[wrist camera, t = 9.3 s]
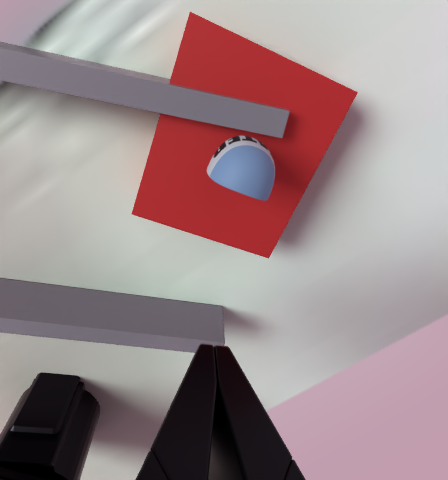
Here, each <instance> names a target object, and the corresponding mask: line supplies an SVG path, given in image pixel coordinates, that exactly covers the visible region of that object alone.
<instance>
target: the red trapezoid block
mask: <svg viewBox="0 0 448 480" xmlns="http://www.w3.org/2000/svg"><path fill="white" fill-rule="evenodd" d="M170 84H175V85H179V86H184V87H189V88H193V89H198V90H202V91H207V92H211V93H216V94H221V95H225V96H230V97H234V98H239V99H243V100H248V101H253V102H257V103H262V104H266V105H271V106H275V107H280V108H285V109H287V110H289V111H290V112H289V116H288V119H287V123H286V127H285V130H284V134H283V137H282V138H279V137H274V136H269V135H264V134H259V133H254V132H249V131H245V130H240V129H235V128H230V127H225V126H220V125H215V124H211V123H206V122H201V121H196V120H191V119H186V118H181V117H176V116H172V115H167V114H162V113H161V114H160V118H159V121H158V125H157V128H156V131H155V135H154V138H153V142H152V145H151V149H150V152H149V156H148V159H147V163H146V166H145V170H144V173H143V177H142V180H141V183H140V187H139V190H138V194H137V197H136V201H135V204H134V208H133V211H132V214H133V215H136V216H139V217H142V218H145V219H148V220H151V221H154V222H157V223H161V224H164V225H167V226H170V227H173V228H176V229H179V230H182V231H185V232H189V233H192V234H195V235H198V236H201V237H204V238H207V239H210V240H213V241H216V242H220V243H223V244H226V245H229V246H232V247H235V248H238V249H241V250H244V251H248V252H251V253H254V254H257V255H260V256H263V257H266V258H269V257H270V255H271V253H272V251H273V249H274V247H275V246H276V244H277V242H278V240H279V238H280V236H281V234H282V233H283V231H284V229H285V227H286V225H287V223H288V221H289V220H290V218H291V216H292V214H293V212H294V210H295V208H296V207H297V205H298V203H299V201H300V199H301V197H302V195H303V193H304V192H305V190H306V188H307V186H308V184H309V182H310V180H311V179H312V177H313V175H314V173H315V171H316V169H317V167H318V166H319V164H320V162H321V160H322V158H323V156H324V154H325V153H326V151H327V149H328V147H329V145H330V143H331V141H332V139H333V138H334V136H335V134H336V132H337V130H338V128H339V126H340V125H341V123H342V121H343V119H344V117H345V115H346V113H347V112H348V110H349V108H350V106H351V104H352V102H353V100H354V99H355V97H356V95H357V93H358V92H356V91H354V90H352V89H349V88H347V87H345V86H343V85H341V84H339V83H337V82H335V81H333V80H331V79H329V78H327V77H325V76H322V75H320V74H318V73H316V72H314V71H312V70H310V69H308V68H306V67H304V66H302V65H300V64H298V63H295V62H293V61H291V60H289V59H287V58H285V57H283V56H281V55H279V54H277V53H275V52H273V51H271V50H268V49H266V48H264V47H262V46H260V45H258V44H256V43H254V42H252V41H250V40H248V39H246V38H244V37H241V36H239V35H237V34H235V33H233V32H231V31H229V30H227V29H225V28H223V27H221V26H219V25H216V24H214V23H212V22H210V21H208V20H206V19H204V18H202V17H200V16H198V15H196V14H194V13H192V12H190V14H189V17H188V21H187V24H186V27H185V31H184V34H183V38H182V41H181V45H180V48H179V52H178V55H177V59H176V62H175V66H174V69H173V73H172V76H171V79H170Z"/></svg>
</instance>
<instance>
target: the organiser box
mask: <svg viewBox="0 0 448 480" xmlns="http://www.w3.org/2000/svg"><path fill="white" fill-rule="evenodd" d="M0 80H1V81H6V82H11V83H16V84H21V85H26V86H30V87H35V88H40V89H45V90H50V91H55V92H60V93H64V94H69V95H74V96H79V97H84V98H89V99H94V100H99V101H103V102H108V103H113V104H118V105H123V106H128V107H133V108H138V109H142V110H147V111H152V112H157V113H162V114H167V115H172V116H176V117H181V118H186V119H191V120H196V121H201V122H206V123H211V124H215V125H220V126H225V127H230V128H235V129H240V130H245V131H249V132H254V133H259V134H264V135H269V136H274V137H279V138H282V137H283V134H284V130H285V127H286V123H287V119H288V116H289V112H290V111H289V110H287V109H285V108H280V107H275V106H271V105H266V104H262V103H257V102H253V101H248V100H243V99H239V98H234V97H230V96H225V95H221V94H216V93H211V92H207V91H202V90H198V89H193V88H189V87H184V86H179V85H175V84H170V79H167V78H162V77H157V76H153V75H148V74H144V73H139V72H135V71H130V70H126V69H121V68H117V67H112V66H108V65H103V64H99V63H94V62H90V61H85V60H81V59H76V58H71V57H67V56H62V55H58V54H53V53H49V52H44V51H40V50H35V49H31V48H26V47H22V46H17V45H12V44H8V43H4V42H0ZM0 332H1V333H11V334H21V335H30V336H40V337H49V338H59V339H68V340H78V341H88V342H97V343H107V344H116V345H126V346H136V347H145V348H155V349H164V350H174V351H183V352H193V353H196V351H197V348H198V346H199V345H200V344H201V343H203V344H212V345H213V346H215V345H222V346H224V344H225V337H224V323H223V308H222V306H217V305H209V304H201V303H193V302H185V301H177V300H169V299H162V298H154V297H146V296H138V295H130V294H122V293H114V292H106V291H98V290H90V289H82V288H74V287H66V286H58V285H50V284H43V283H35V282H27V281H19V280H11V279H3V278H0Z"/></svg>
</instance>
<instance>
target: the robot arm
mask: <svg viewBox="0 0 448 480" xmlns="http://www.w3.org/2000/svg"><path fill="white" fill-rule="evenodd" d="M99 414H100V406H99V403H98V401H97V400H96V399H95V397H94V396H93V395H92V394H90V393H89V392H87V391H86V390H85V385H84V383H83V382H80V378H79V377H78V376H75V375H63V374H52V373H39V374H38V375H37V377H36V379H34V381H33V383H32V385H31V386H30V388H29V389H27V390H26V391H25V392H24V393H23V395H22V396H21V398H20V400H19V402H18V403H17V405H16V407H15V409H14V411H13V412H12V414H11V416H10V418H9V420H8V422H7V423H6V425H5V427H4V429H3V431H2V432H1V434H0V480H80V478H81V474H82V471H83V468H84V464H85V461H86V458H87V454H88V451H89V448H90V444H91V441H92V438H93V434H94V431H95V428H96V424H97V421H98V418H99ZM136 480H305V478H304V476H303V475H302V473H301V471H300V469H299V468H298V466H297V464H296V462H295V461H294V460H292V456H291V454H290V452H289V450H288V449H287V447H286V445H285V444H284V442H283V440H282V438H281V437H280V435H279V433H278V432H277V430H276V428H275V426H274V424H273V423H272V421H271V419H270V418H269V416H268V414H267V412H266V411H265V409H264V407H263V405H262V404H261V402H260V400H259V398H258V397H257V395H256V393H255V391H254V390H253V388H252V386H251V384H250V383H249V381H248V379H247V378H246V376H245V374H244V372H243V371H242V369H241V367H240V365H239V364H238V362H237V360H236V358H235V357H234V355H233V353H232V352H231V350H230V348H229V347H228V346H222V345H215V346H213V345H212V344H203V343H201V344H200V345H199V346H198V348H197V351H196V353H195V355H194V357H193V359H192V361H191V363H190V366H189V368H188V370H187V372H186V374H185V376H184V378H183V381H182V383H181V385H180V387H179V389H178V391H177V393H176V395H175V398H174V400H173V402H172V404H171V406H170V408H169V410H168V413H167V415H166V417H165V419H164V421H163V423H162V425H161V428H160V430H159V432H158V434H157V436H156V438H155V440H154V443H153V445H152V447H151V450H150V451H149V453H148V455H147V457H146V459H145V461H144V464H143V466H142V468H141V470H140V472H139V474H138V476H137V478H136Z"/></svg>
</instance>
